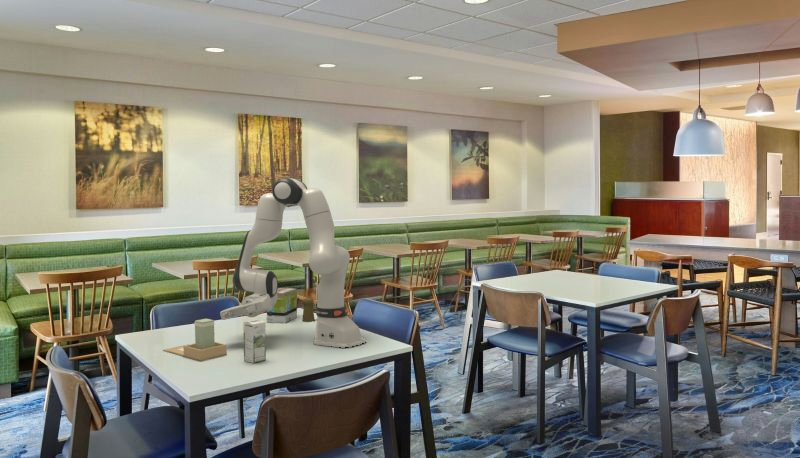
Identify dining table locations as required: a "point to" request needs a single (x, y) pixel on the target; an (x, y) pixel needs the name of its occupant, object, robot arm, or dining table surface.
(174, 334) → the dining table surface
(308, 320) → the cork
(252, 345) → the syrup box
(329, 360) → the dining table surface
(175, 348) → the box
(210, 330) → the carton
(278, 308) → the tea box
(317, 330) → the robot arm
